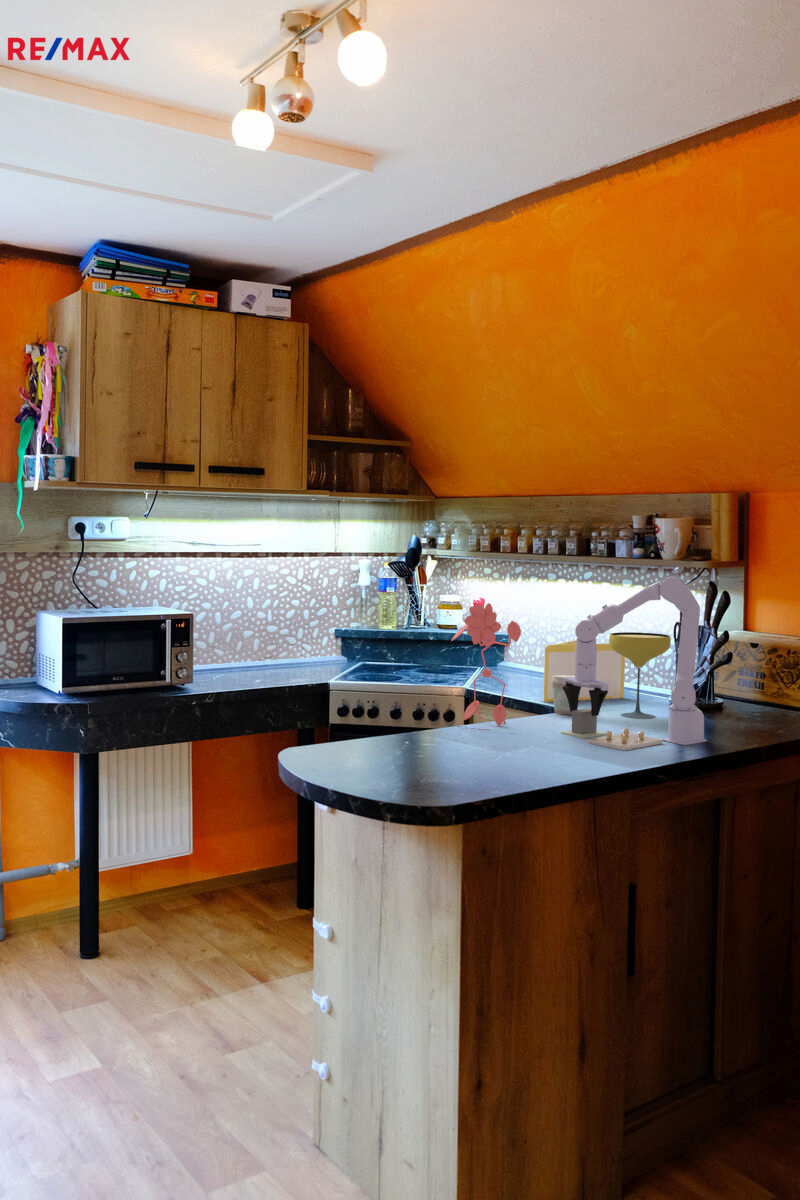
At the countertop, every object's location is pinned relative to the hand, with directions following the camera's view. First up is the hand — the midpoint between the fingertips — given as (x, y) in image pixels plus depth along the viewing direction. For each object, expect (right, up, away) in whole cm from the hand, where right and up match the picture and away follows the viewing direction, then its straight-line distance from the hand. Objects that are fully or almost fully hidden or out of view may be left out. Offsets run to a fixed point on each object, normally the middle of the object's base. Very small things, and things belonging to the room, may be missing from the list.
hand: (584, 713), depth 273 cm
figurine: (-28, -5, +12) cm, 31 cm away
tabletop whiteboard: (+12, -3, +63) cm, 64 cm away
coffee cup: (0, -4, +32) cm, 33 cm away
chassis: (+9, -7, -11) cm, 15 cm away
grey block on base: (0, -6, 0) cm, 6 cm away
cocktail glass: (+22, -5, +31) cm, 38 cm away
